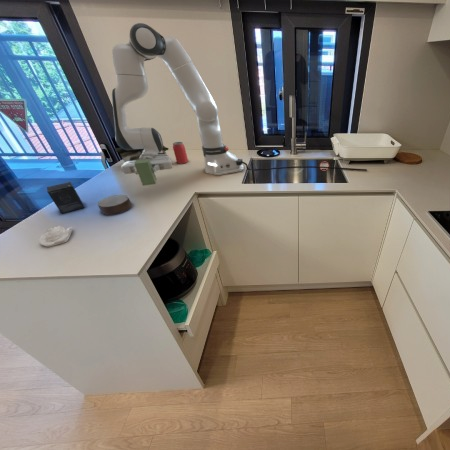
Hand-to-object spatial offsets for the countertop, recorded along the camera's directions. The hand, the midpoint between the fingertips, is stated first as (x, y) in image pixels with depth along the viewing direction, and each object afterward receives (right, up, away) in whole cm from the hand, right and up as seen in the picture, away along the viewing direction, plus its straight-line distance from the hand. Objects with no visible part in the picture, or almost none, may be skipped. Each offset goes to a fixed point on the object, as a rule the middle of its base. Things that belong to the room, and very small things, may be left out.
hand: (145, 171), depth 105 cm
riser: (-12, -16, -1) cm, 20 cm away
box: (-31, -16, -1) cm, 35 cm away
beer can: (-7, +16, +48) cm, 52 cm away
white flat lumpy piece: (-19, -28, -18) cm, 39 cm away
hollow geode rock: (-28, +15, +45) cm, 55 cm away
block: (0, -4, +4) cm, 6 cm away
